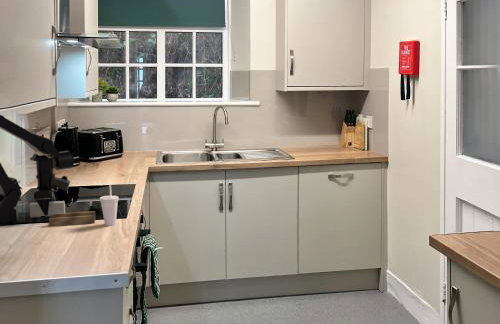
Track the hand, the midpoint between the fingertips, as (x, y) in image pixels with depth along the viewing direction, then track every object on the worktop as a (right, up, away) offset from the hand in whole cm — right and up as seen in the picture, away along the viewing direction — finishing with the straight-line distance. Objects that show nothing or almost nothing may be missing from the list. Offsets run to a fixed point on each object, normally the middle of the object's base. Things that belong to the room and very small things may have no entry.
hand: (47, 212), depth 201 cm
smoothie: (+27, -3, -14) cm, 31 cm away
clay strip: (0, -1, 0) cm, 1 cm away
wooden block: (+13, -2, -10) cm, 16 cm away
